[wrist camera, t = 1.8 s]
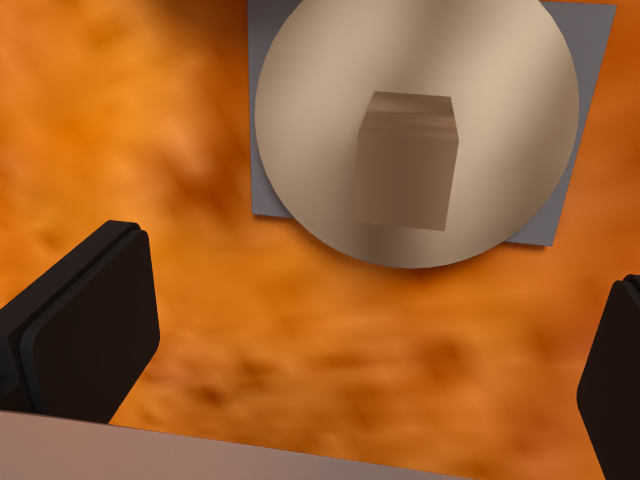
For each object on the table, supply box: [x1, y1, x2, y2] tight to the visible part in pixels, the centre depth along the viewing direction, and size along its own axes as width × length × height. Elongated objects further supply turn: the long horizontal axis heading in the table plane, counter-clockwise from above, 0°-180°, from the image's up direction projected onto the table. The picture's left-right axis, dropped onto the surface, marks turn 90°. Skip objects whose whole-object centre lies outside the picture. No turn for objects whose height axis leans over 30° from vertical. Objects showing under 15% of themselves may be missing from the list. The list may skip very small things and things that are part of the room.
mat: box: [247, 0, 617, 246], centre depth 23 cm, size 14×10×1 cm
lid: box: [255, 0, 579, 269], centre depth 20 cm, size 13×13×7 cm
